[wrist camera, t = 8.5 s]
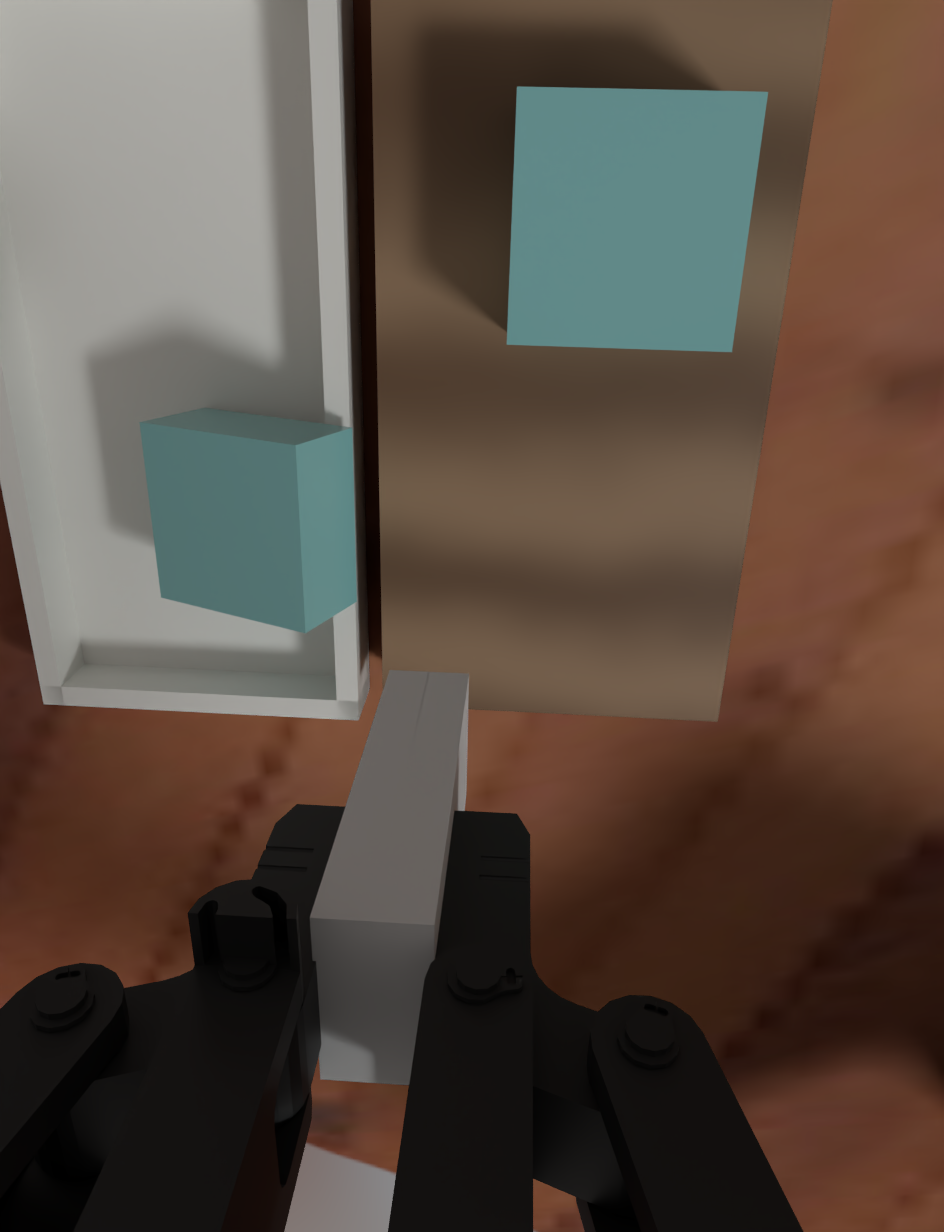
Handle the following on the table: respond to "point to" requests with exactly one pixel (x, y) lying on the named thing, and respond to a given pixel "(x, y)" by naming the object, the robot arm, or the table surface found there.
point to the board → (565, 367)
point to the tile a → (253, 515)
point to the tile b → (631, 216)
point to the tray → (171, 322)
